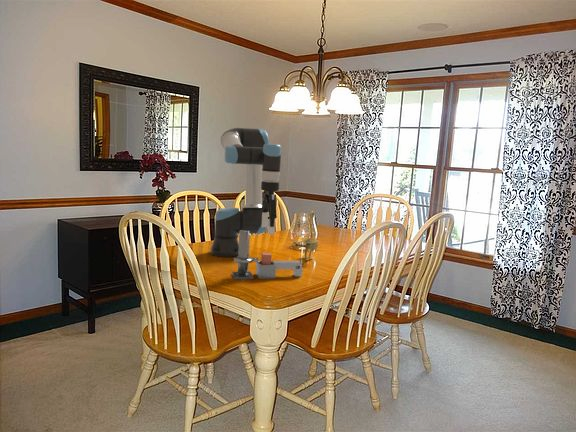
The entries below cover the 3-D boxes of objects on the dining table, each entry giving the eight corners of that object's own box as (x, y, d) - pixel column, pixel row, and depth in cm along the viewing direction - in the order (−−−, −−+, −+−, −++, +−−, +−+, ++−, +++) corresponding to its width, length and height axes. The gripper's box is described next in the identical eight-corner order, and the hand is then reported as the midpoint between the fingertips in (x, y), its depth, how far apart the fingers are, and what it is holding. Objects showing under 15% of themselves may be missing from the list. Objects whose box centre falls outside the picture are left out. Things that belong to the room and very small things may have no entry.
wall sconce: (302, 255, 236) (305, 208, 232) (320, 258, 233) (323, 210, 229) (295, 262, 222) (298, 212, 218) (313, 264, 220) (317, 214, 216)
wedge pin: (260, 275, 197) (261, 252, 196) (268, 275, 198) (269, 252, 197) (262, 277, 194) (263, 255, 192) (270, 277, 195) (271, 255, 193)
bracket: (255, 273, 199) (256, 259, 198) (298, 273, 204) (299, 259, 202) (258, 278, 192) (259, 264, 191) (303, 278, 197) (304, 263, 196)
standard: (232, 274, 196) (233, 229, 193) (255, 273, 199) (257, 229, 196) (234, 279, 189) (236, 232, 186) (258, 279, 191) (261, 233, 188)
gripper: (286, 185, 178) (282, 237, 182) (272, 178, 202) (270, 224, 206) (267, 184, 177) (264, 237, 180) (256, 177, 200) (254, 224, 204)
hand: (267, 230), depth 193 cm, fingers open, 13 cm apart
